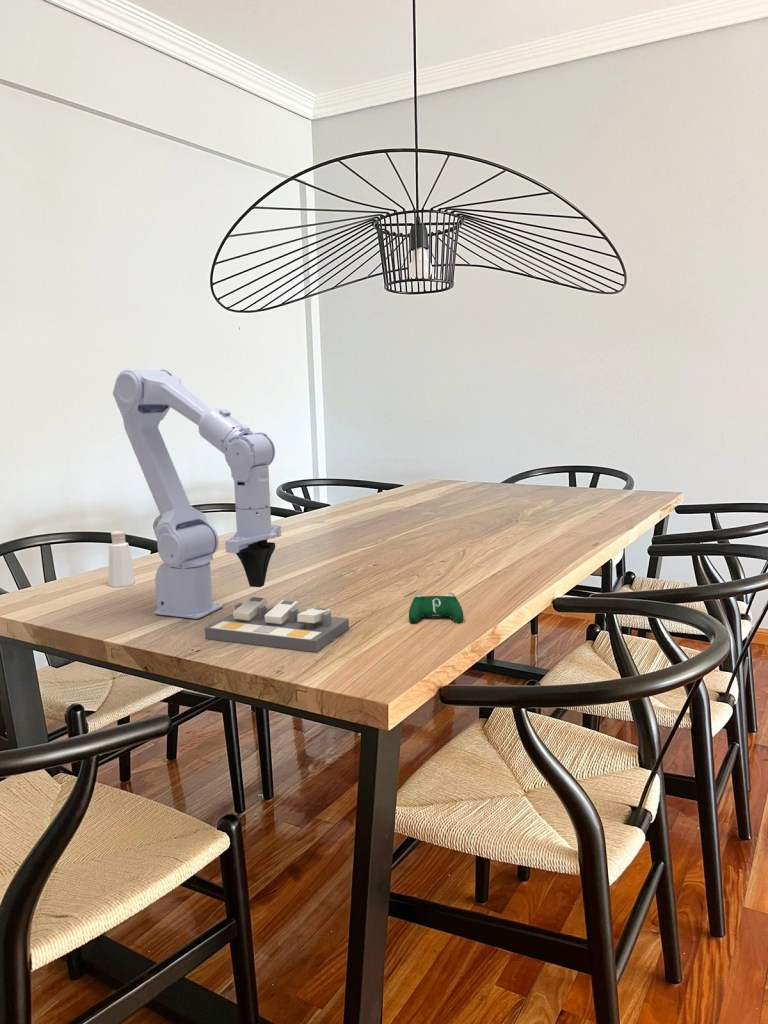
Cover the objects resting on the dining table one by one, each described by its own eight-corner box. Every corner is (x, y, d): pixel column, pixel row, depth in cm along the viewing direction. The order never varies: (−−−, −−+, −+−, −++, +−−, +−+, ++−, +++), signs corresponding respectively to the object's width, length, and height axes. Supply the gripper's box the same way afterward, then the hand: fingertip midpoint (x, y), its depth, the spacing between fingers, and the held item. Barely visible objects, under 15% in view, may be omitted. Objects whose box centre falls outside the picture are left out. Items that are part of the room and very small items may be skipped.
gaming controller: (462, 630, 135) (461, 599, 139) (463, 619, 132) (462, 588, 135) (409, 630, 135) (408, 600, 139) (408, 620, 132) (408, 589, 136)
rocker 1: (233, 618, 130) (232, 611, 130) (252, 603, 135) (251, 596, 135) (249, 620, 129) (248, 613, 129) (267, 604, 134) (266, 597, 134)
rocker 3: (297, 621, 125) (297, 613, 125) (314, 614, 131) (314, 607, 131) (314, 623, 124) (314, 615, 124) (330, 616, 130) (330, 608, 130)
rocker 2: (265, 622, 128) (264, 615, 128) (283, 606, 133) (282, 599, 133) (281, 624, 127) (280, 617, 126) (298, 607, 132) (297, 600, 132)
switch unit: (205, 638, 127) (204, 615, 127) (245, 617, 138) (244, 596, 138) (316, 652, 120) (315, 628, 119) (349, 628, 131) (348, 606, 130)
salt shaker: (102, 586, 161) (98, 533, 159) (119, 579, 166) (115, 528, 164) (124, 588, 159) (120, 534, 158) (141, 581, 164) (137, 529, 163)
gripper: (250, 515, 123) (254, 599, 125) (295, 501, 136) (298, 577, 139) (212, 513, 126) (217, 595, 128) (259, 499, 139) (263, 574, 141)
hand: (256, 586), depth 134 cm, fingers closed
